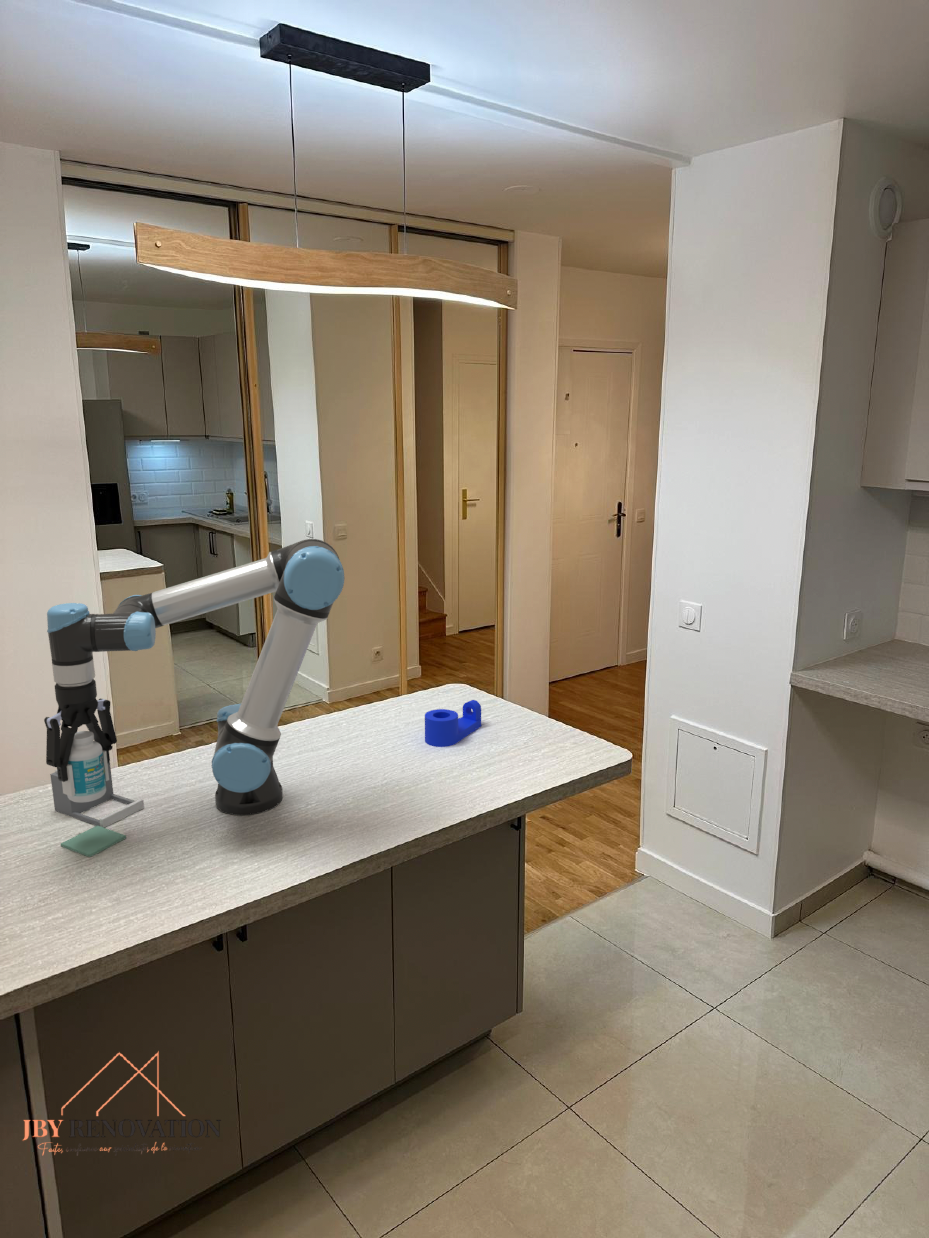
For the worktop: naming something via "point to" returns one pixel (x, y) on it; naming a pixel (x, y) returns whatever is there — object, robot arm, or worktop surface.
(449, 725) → the bracket
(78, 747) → the pill bottle
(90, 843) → the mat
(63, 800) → the grey open frame
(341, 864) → the worktop surface
